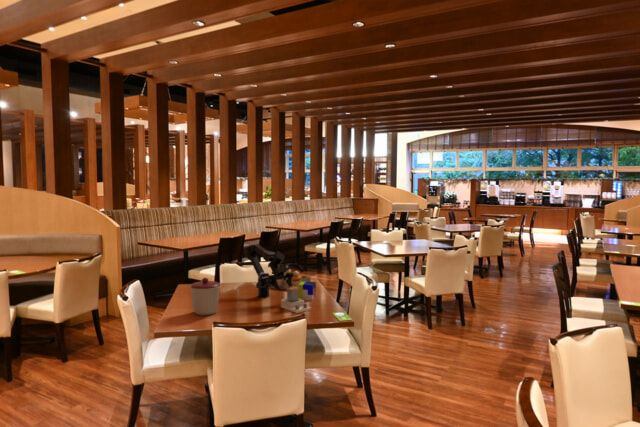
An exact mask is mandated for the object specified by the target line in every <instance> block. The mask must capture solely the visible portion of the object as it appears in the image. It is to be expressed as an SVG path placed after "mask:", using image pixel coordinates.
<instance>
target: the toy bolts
mask: <svg viewBox="0 0 640 427" xmlns="http://www.w3.org/2000/svg"><path fill="white" fill-rule="evenodd" d="M290 272H292V270H291V269H290V268H289V270H288V271H286V272H285V274H284V275H286V274H287V273H290ZM292 273H293V274H294V276H293V277H292V279H291V280H293V281H295V282H297V281H299V280H301V279H302V278H301V276H302V275H301V276H299V275H300V272H299V271H297V270H295V271H293V272H292ZM284 279H285V278H284ZM284 281H286V280H284ZM291 282H292V281H291Z"/></svg>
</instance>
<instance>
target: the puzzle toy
mask: <svg viewBox="0 0 640 427" xmlns="http://www.w3.org/2000/svg"><path fill="white" fill-rule="evenodd" d="M316 286H317V284H316V281H311V282H306V281H301V282H300V283H299V284H298V299H301V300H304V301H307V300H309V301H313V300H314V299H315V298H316V294H317V292H316V290H317V289H316V288H317V287H316Z"/></svg>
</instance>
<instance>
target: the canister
mask: <svg viewBox="0 0 640 427" xmlns="http://www.w3.org/2000/svg"><path fill="white" fill-rule="evenodd" d="M221 286H222V284H221V283H219V282H218V281H213V280H209V278H207V277H203V278H202V280H201V281H196V282H193V283H192V284H190V285H189V287H188V288H189V289H190V295H191V302H192V309H193V313H194V314H196V315H198V316H210V315H214V314H215V313H216V312H217V311H218V305H219V300H220V299H219V298H220V288H221Z"/></svg>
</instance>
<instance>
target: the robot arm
mask: <svg viewBox="0 0 640 427" xmlns="http://www.w3.org/2000/svg"><path fill="white" fill-rule="evenodd" d="M243 254H244V257H246V259H248V260H249V261H250V263H251V265H252V266H253V269H254V270H255V273H256V275H257V276H258V277H257V283H256V284H255V287H256V289H257V290H258V292H257V293H258V295H257V298H263V299H264V298H265V299H266V298H268V297H270V296H271V295H270V289H269V288H270V287H271V285H272V286H274V287H275V288H274V289H276V290H277V291H280V290H281V289H280V288H279V286H278V284H277V281H276V280H277V279H284V278H285V280H286V283H287V284H288V286H289V287H292V285H291V279H292V277H293V276H294V274H293V272H292V271H291V272H290V273H287V274H286V275H284V274H285V272H286V271H288V270H289V269H290V267H289V265H285V266H280V265H281V264H282V263H283V261H284V259H285V255H284V253H282V252H280V251H276V252H274V251H272V250H271V251H270V250H267V249H266V248H264V247H263V246H262V245H260V244H259V243H253V244H252V245H250V246H248V247H245V248H244V250H243ZM258 254H259V255H261V257H262V259H263V260H264V262H268V265H267V268H270V269H271V274H269V272H265V271H264V269H263V266H262V264H261V262H260V261H259V259H258V257H257V256H258Z"/></svg>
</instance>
